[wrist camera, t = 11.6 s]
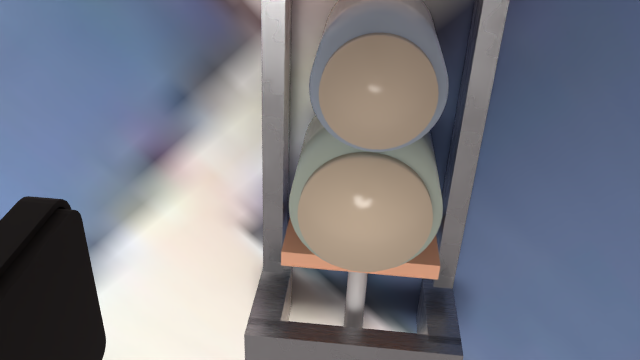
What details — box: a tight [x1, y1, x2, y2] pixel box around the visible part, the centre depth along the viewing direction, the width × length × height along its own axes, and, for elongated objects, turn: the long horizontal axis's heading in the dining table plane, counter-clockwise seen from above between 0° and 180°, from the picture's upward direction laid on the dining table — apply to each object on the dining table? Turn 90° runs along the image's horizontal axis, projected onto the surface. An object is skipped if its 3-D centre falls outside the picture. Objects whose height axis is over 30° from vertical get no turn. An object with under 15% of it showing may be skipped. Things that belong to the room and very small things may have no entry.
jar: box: [309, 0, 449, 152], centre depth 24 cm, size 5×5×7 cm
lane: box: [244, 0, 509, 360], centre depth 28 cm, size 20×11×6 cm, turn 177°
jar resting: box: [289, 115, 443, 272], centre depth 27 cm, size 6×6×6 cm
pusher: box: [281, 218, 440, 328], centre depth 32 cm, size 10×7×4 cm
